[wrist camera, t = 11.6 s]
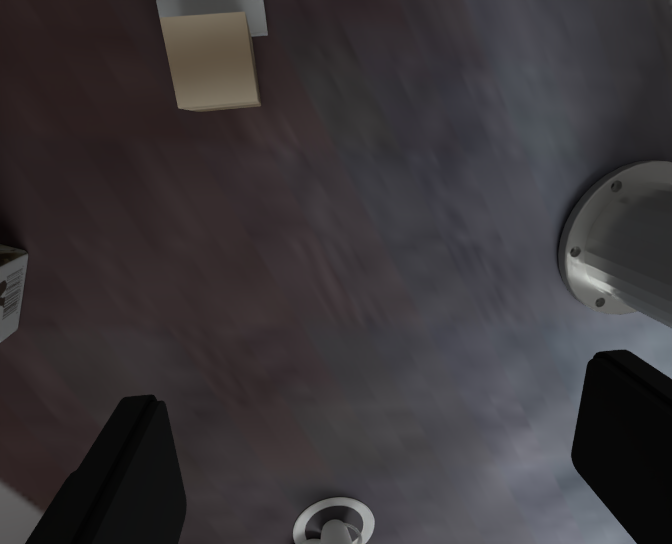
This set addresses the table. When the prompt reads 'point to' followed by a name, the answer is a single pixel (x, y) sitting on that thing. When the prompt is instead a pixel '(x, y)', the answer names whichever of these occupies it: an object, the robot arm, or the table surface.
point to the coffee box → (11, 288)
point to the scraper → (213, 51)
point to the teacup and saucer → (335, 523)
